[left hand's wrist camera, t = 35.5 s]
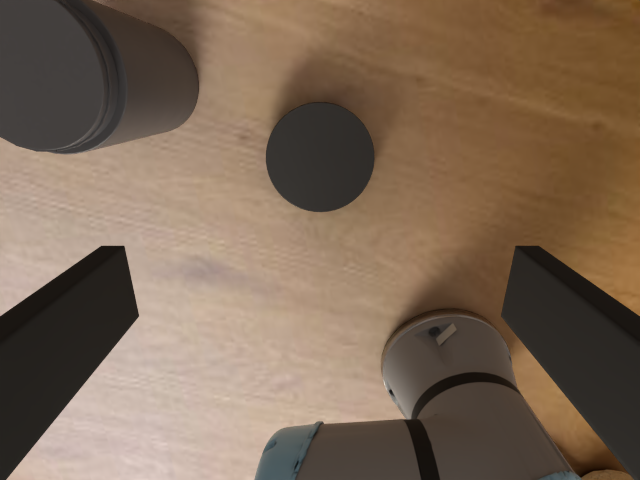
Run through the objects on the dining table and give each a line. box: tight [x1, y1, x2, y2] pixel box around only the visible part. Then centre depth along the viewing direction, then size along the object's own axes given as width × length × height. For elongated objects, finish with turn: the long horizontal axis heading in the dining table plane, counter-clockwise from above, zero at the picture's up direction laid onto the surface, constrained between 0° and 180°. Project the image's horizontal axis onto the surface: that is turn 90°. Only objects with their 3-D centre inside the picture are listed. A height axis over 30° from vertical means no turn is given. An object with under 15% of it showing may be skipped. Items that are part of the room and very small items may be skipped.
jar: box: [0, 0, 199, 154], centre depth 27 cm, size 9×9×16 cm
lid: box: [266, 102, 374, 212], centre depth 36 cm, size 10×10×2 cm
